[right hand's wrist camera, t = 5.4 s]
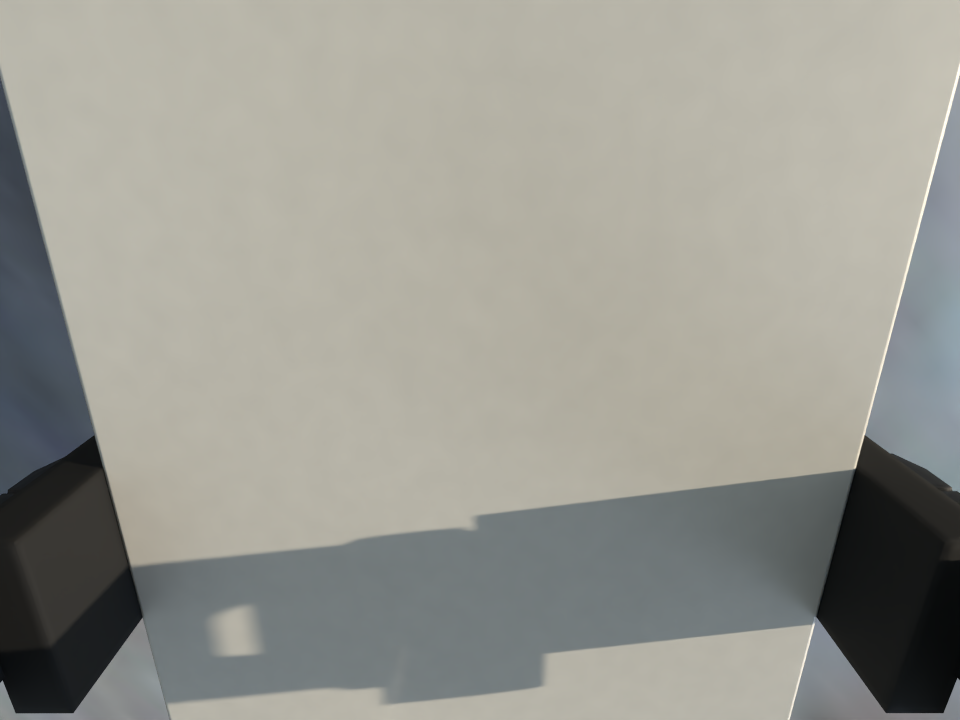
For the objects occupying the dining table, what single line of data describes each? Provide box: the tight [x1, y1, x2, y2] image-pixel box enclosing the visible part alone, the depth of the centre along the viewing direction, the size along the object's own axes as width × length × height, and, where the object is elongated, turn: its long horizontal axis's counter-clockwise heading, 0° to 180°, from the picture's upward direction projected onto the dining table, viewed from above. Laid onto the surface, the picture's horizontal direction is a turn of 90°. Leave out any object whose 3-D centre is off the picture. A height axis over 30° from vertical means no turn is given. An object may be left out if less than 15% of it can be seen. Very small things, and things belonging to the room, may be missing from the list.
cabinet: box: [0, 0, 960, 720], centre depth 11 cm, size 21×11×10 cm, turn 0°
